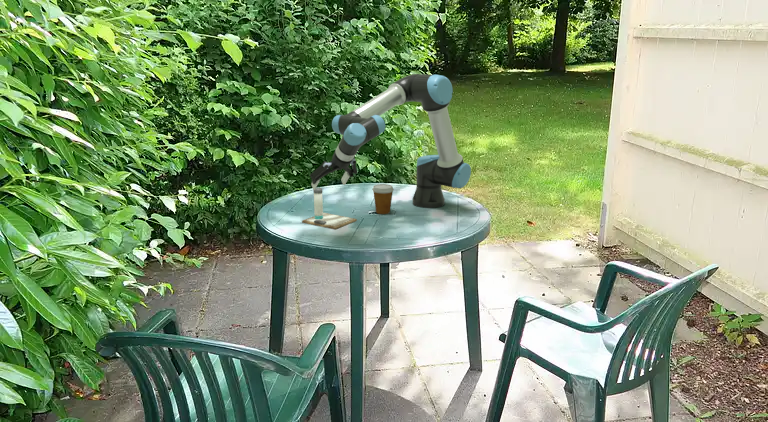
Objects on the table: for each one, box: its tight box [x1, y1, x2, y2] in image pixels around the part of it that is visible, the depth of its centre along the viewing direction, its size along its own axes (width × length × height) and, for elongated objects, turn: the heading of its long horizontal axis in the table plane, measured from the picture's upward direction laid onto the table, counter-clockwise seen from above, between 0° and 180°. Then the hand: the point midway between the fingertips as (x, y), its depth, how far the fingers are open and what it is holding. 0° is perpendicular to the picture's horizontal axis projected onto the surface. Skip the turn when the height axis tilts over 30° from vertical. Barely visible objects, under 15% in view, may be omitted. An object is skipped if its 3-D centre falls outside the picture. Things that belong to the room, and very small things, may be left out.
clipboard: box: [301, 212, 358, 230], centre depth 266 cm, size 18×15×2 cm
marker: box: [313, 187, 324, 219], centre depth 266 cm, size 4×4×13 cm
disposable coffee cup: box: [372, 183, 395, 215], centre depth 279 cm, size 10×10×12 cm
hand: (328, 184), depth 254 cm, fingers open, 13 cm apart
